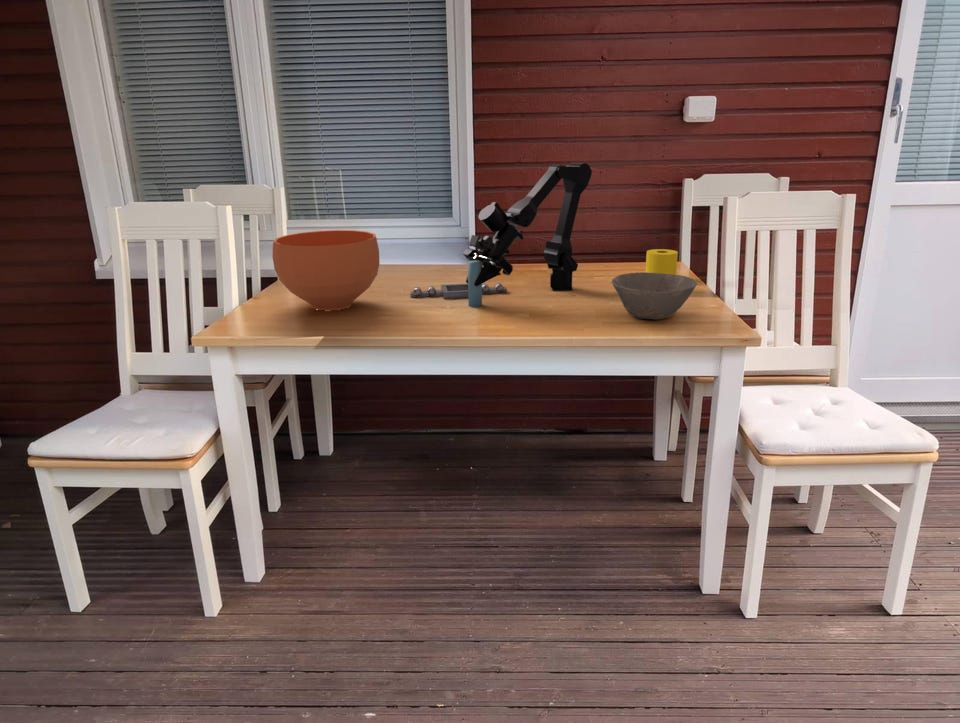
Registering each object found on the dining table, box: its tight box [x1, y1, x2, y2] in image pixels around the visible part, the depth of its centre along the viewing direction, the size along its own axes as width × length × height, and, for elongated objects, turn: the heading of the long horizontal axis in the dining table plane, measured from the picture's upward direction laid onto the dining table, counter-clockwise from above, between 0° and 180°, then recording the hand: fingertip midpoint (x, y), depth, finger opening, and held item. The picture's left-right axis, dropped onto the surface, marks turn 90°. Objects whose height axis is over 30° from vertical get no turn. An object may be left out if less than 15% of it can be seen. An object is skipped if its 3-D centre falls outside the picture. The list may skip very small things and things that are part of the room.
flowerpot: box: [272, 229, 380, 311], centre depth 192 cm, size 30×30×20 cm
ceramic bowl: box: [611, 272, 698, 321], centre depth 178 cm, size 22×23×10 cm
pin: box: [467, 260, 483, 308], centre depth 192 cm, size 4×4×13 cm
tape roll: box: [644, 248, 679, 275], centre depth 219 cm, size 10×10×9 cm
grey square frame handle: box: [409, 282, 508, 300], centre depth 207 cm, size 30×10×3 cm, turn 97°
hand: (471, 284), depth 191 cm, fingers closed on pin, 4 cm apart
